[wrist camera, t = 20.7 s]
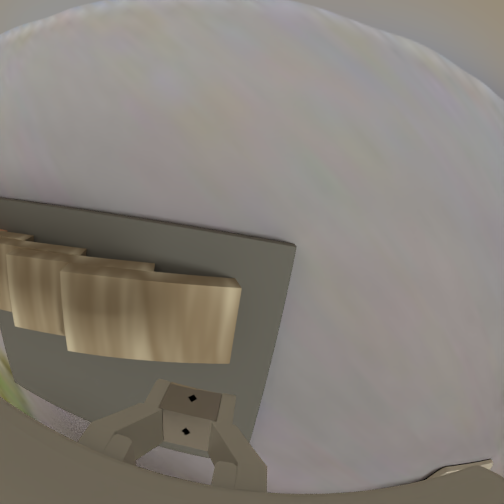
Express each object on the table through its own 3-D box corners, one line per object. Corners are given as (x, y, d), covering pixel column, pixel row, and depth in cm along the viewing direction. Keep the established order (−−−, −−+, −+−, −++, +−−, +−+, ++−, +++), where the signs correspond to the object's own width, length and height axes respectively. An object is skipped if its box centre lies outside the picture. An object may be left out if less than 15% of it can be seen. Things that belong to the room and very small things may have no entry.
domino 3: (241, 288, 16) (60, 271, 13) (229, 363, 17) (67, 350, 14) (235, 278, 17) (69, 262, 14) (224, 349, 18) (74, 337, 15)
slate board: (294, 244, 18) (296, 247, 17) (244, 455, 22) (243, 463, 21) (-3, 197, 18) (-10, 198, 17) (19, 378, 22) (15, 382, 21)
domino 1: (80, 254, 16) (-31, 238, 13) (81, 325, 17) (-25, 303, 14) (86, 248, 17) (-21, 234, 14) (86, 314, 18) (-16, 295, 15)
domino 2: (153, 271, 16) (6, 254, 13) (150, 346, 17) (14, 326, 14) (155, 263, 17) (17, 248, 14) (151, 333, 18) (23, 316, 15)
